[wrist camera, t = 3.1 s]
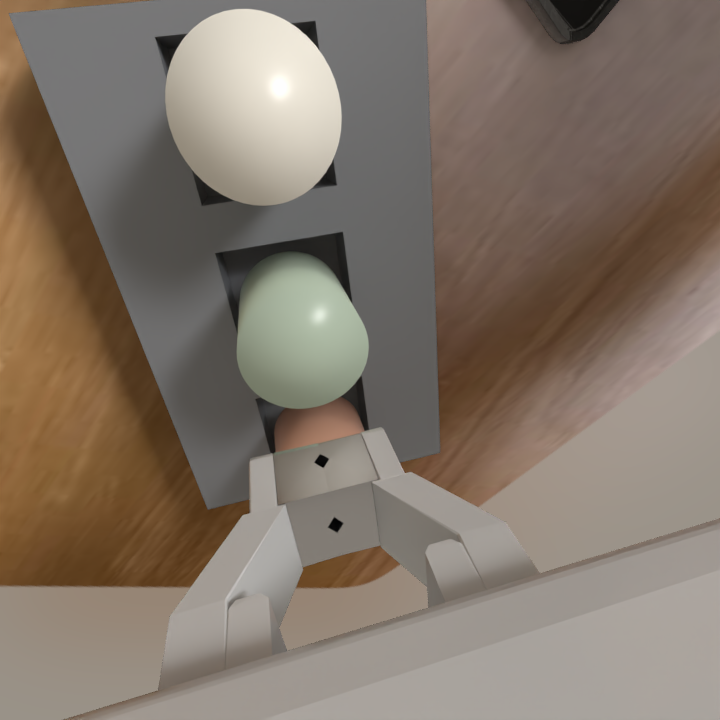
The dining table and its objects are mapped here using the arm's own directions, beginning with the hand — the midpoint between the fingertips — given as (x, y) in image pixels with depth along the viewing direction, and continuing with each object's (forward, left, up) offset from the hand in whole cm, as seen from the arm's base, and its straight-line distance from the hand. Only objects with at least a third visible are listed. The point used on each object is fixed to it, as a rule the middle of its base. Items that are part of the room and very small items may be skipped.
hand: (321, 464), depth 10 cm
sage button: (0, 0, -10) cm, 11 cm away
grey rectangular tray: (0, 0, -14) cm, 14 cm away
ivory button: (0, -7, -11) cm, 13 cm away
